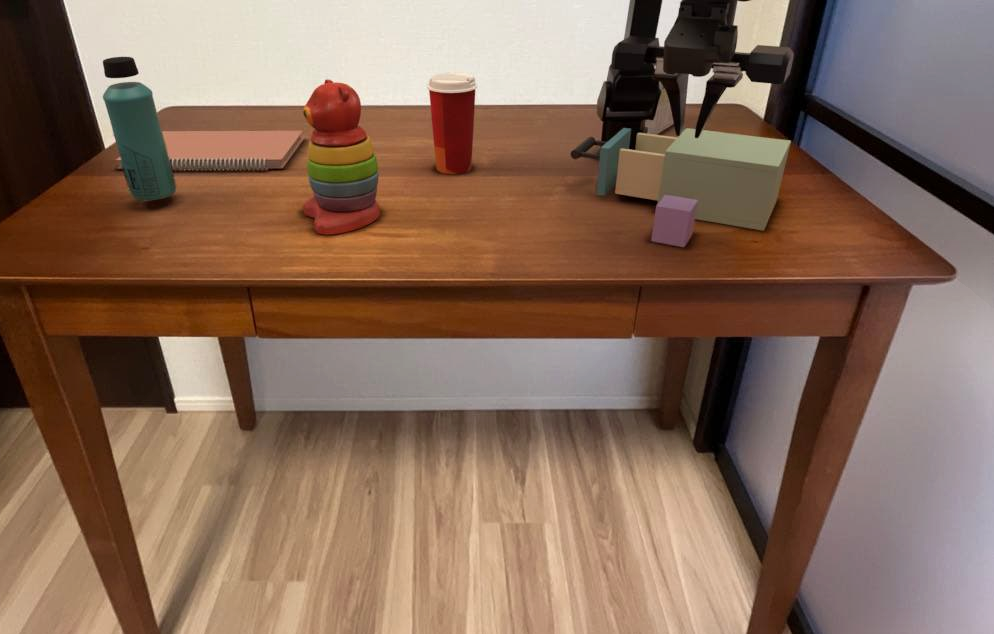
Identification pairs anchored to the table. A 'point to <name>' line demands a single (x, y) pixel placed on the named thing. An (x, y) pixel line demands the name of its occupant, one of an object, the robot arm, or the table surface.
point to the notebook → (229, 149)
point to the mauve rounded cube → (674, 220)
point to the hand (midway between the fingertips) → (687, 136)
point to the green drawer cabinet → (726, 175)
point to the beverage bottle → (137, 133)
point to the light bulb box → (660, 114)
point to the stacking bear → (339, 162)
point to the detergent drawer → (628, 163)
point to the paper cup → (452, 120)
